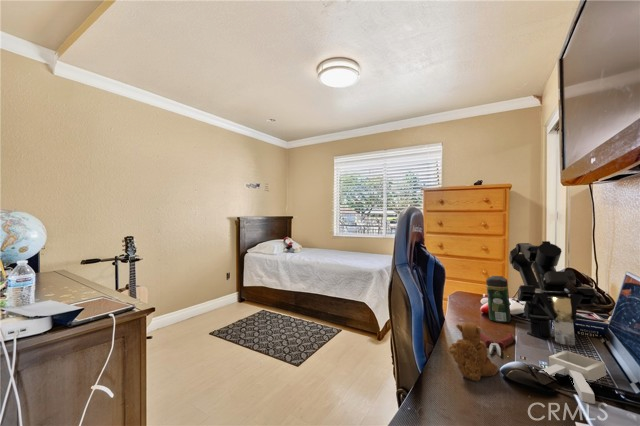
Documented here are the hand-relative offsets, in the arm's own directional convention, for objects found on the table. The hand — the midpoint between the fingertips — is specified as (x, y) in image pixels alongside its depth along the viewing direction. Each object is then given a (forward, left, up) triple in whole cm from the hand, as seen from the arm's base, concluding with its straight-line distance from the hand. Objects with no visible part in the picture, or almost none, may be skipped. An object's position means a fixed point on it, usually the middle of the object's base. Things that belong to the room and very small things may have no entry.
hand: (564, 320), depth 79 cm
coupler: (-1, -1, -7) cm, 7 cm away
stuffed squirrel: (+28, -9, -13) cm, 32 cm away
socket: (+9, +6, -13) cm, 16 cm away
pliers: (+6, -20, -13) cm, 25 cm away
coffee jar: (-21, -34, -13) cm, 41 cm away
